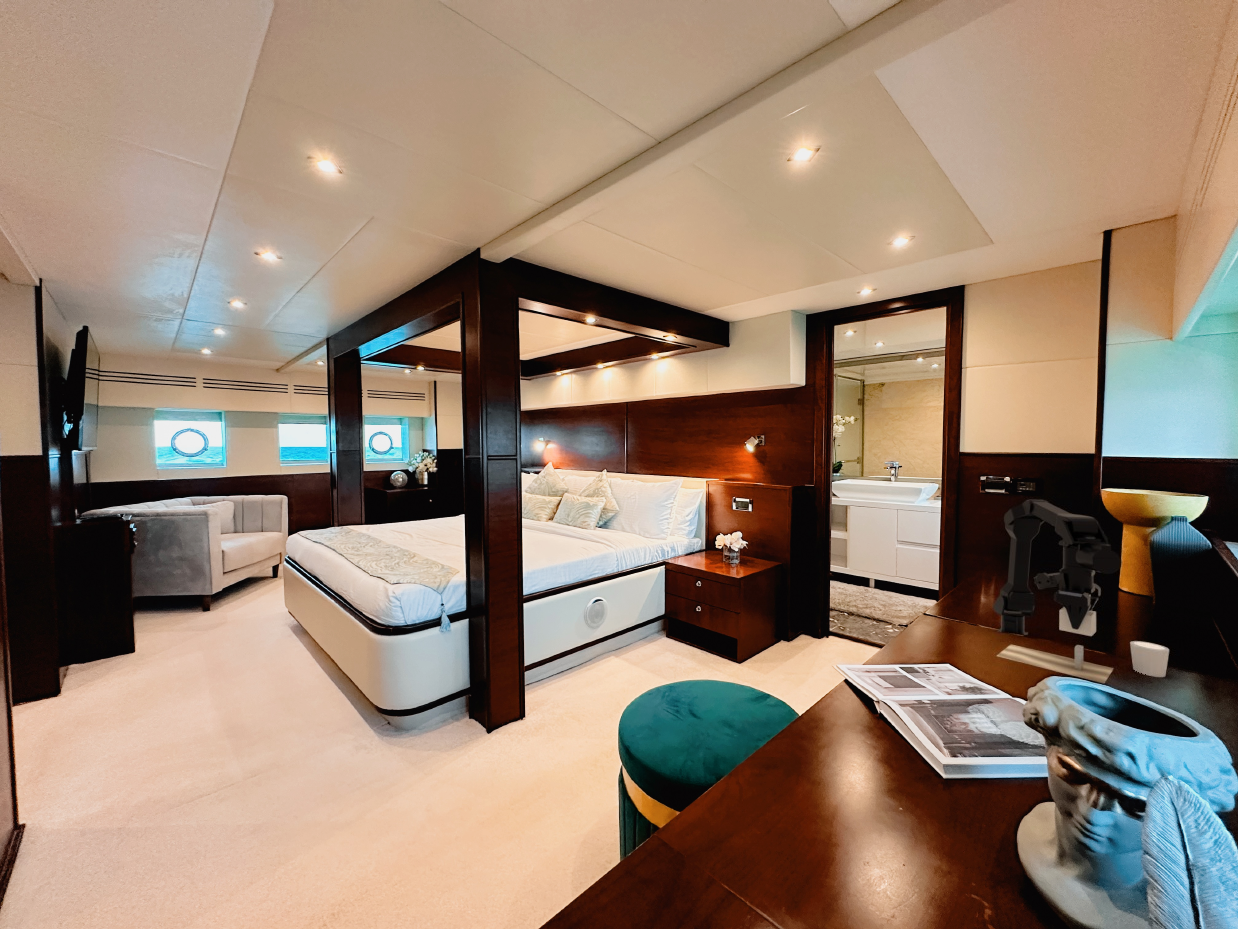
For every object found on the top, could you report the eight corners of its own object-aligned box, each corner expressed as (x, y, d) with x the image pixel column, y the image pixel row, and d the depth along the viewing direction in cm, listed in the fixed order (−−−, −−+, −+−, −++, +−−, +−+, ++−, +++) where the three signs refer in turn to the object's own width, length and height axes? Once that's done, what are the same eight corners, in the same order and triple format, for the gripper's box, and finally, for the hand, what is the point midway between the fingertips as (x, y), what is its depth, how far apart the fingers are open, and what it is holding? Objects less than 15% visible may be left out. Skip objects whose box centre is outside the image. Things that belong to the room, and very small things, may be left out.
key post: (1076, 666, 126) (1077, 644, 126) (1083, 667, 125) (1083, 646, 125) (1074, 668, 125) (1074, 647, 125) (1080, 670, 124) (1081, 648, 124)
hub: (1064, 625, 129) (1064, 605, 129) (1095, 631, 125) (1096, 610, 125) (1059, 629, 126) (1059, 609, 126) (1091, 636, 121) (1091, 615, 121)
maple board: (1010, 649, 141) (1011, 644, 141) (1113, 674, 125) (1113, 668, 125) (996, 661, 133) (996, 655, 133) (1104, 689, 116) (1104, 683, 116)
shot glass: (1177, 678, 123) (1177, 650, 123) (1149, 678, 123) (1149, 650, 123) (1148, 667, 130) (1148, 640, 130) (1122, 666, 130) (1122, 640, 130)
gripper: (1045, 556, 137) (1045, 612, 137) (1028, 564, 126) (1027, 625, 126) (1101, 563, 129) (1100, 622, 128) (1087, 572, 117) (1087, 637, 117)
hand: (1077, 626), depth 125 cm, fingers closed on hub, 6 cm apart
